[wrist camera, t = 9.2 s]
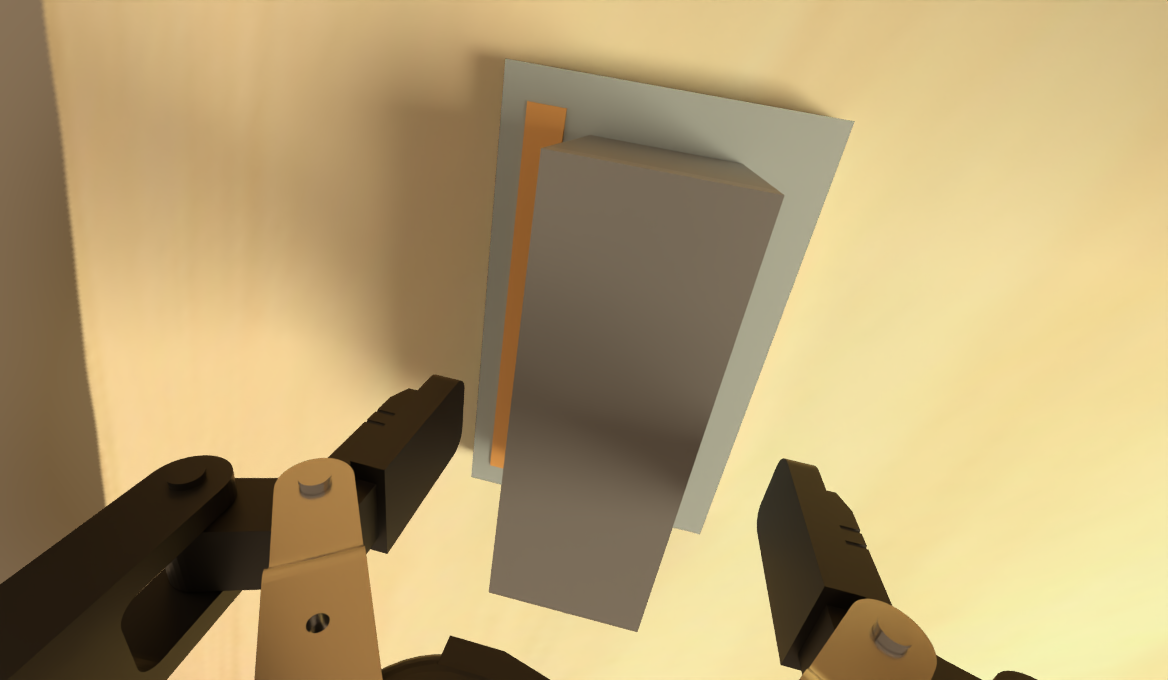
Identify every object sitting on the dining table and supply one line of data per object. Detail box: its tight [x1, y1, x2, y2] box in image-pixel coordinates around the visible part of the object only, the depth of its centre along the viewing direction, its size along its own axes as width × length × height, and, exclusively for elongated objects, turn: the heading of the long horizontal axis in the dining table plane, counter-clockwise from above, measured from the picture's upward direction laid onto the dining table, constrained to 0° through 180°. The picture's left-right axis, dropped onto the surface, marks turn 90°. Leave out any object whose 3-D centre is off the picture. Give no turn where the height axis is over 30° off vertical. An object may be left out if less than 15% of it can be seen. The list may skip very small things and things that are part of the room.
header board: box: [471, 58, 855, 534], centre depth 16 cm, size 10×16×6 cm, turn 170°
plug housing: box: [489, 135, 785, 632], centre depth 15 cm, size 5×13×6 cm, turn 170°
